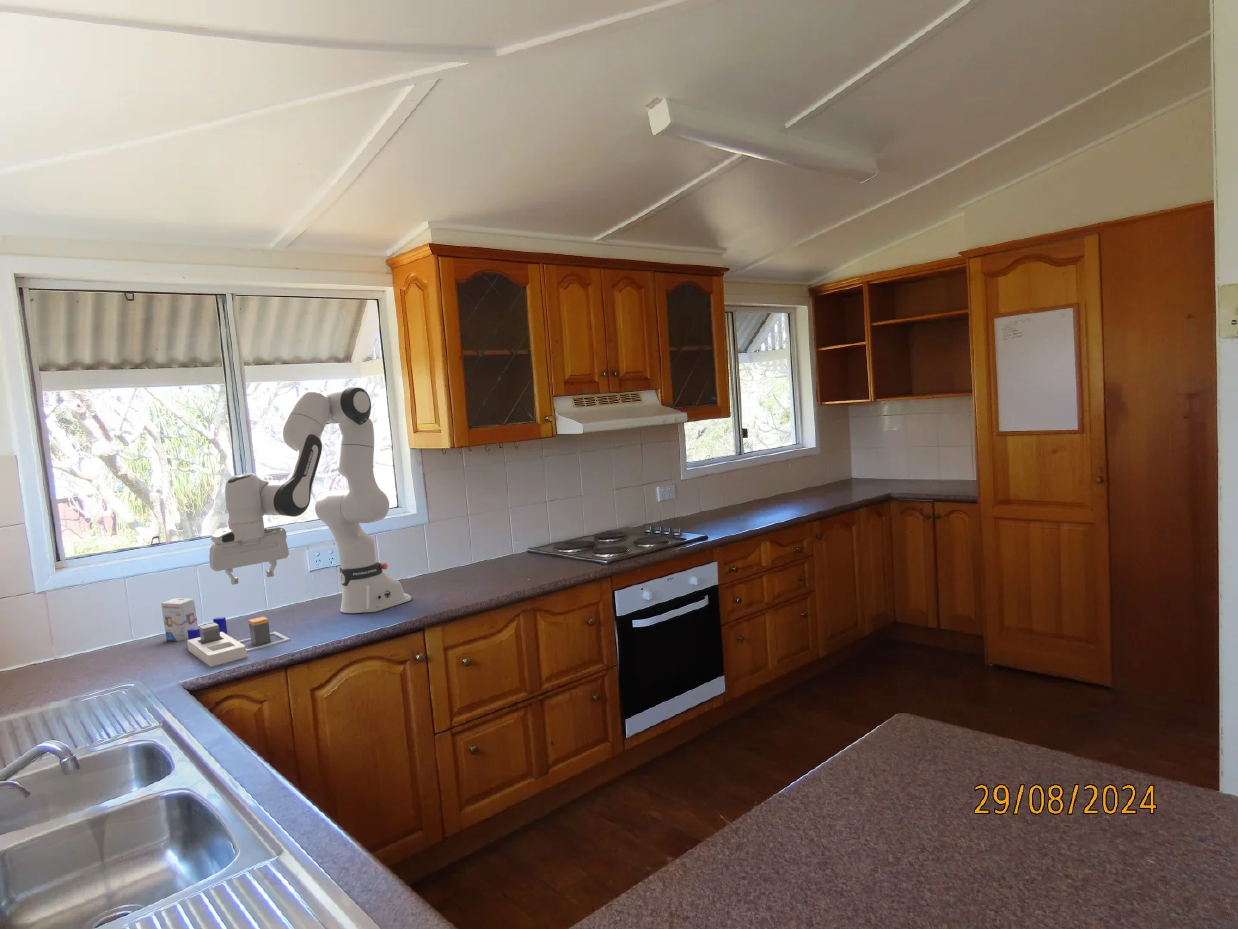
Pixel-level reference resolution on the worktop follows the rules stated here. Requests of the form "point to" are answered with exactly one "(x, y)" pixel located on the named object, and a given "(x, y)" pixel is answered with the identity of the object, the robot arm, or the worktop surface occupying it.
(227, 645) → the white slotted block
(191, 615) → the ink box
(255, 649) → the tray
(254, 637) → the plug
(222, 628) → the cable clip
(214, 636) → the twin plug
